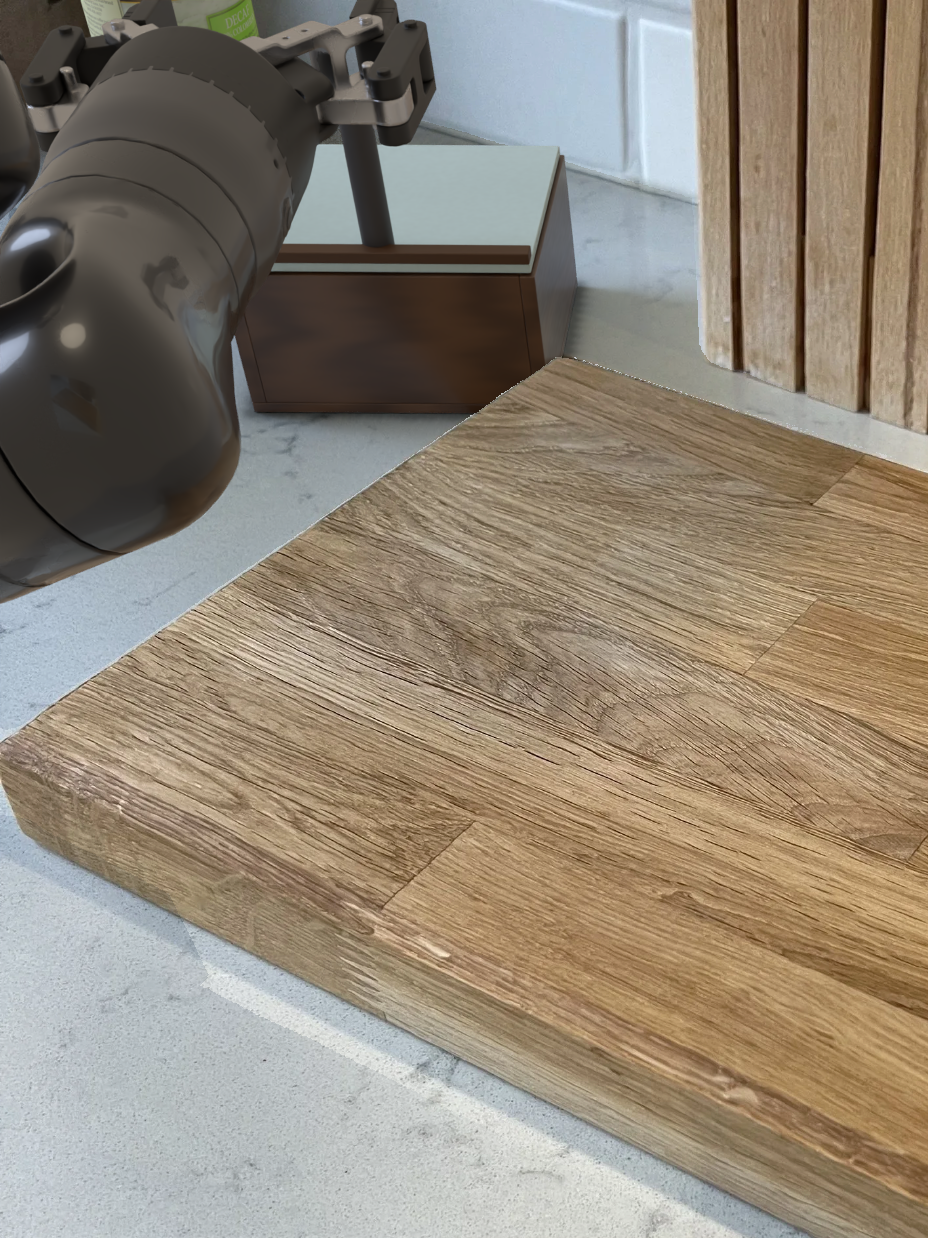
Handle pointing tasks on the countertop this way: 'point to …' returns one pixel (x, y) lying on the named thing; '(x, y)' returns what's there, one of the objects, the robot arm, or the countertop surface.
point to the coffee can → (183, 15)
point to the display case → (409, 331)
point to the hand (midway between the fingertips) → (271, 14)
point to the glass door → (420, 207)
